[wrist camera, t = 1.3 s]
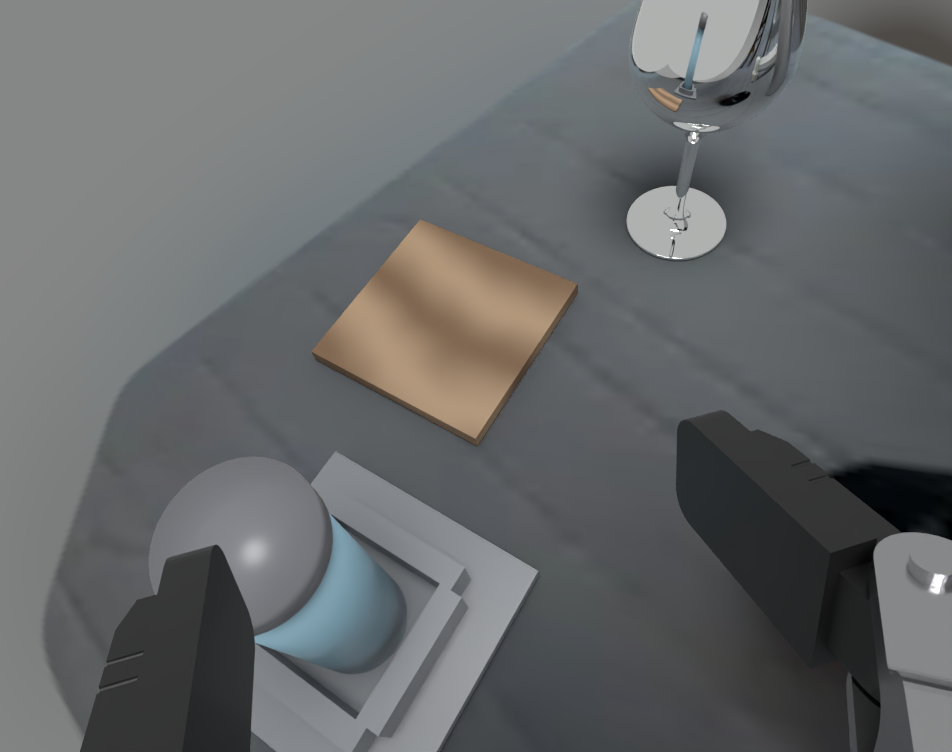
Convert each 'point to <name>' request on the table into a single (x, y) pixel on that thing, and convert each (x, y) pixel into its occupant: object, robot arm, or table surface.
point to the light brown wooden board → (447, 328)
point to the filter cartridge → (287, 564)
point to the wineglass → (705, 98)
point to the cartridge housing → (425, 638)
